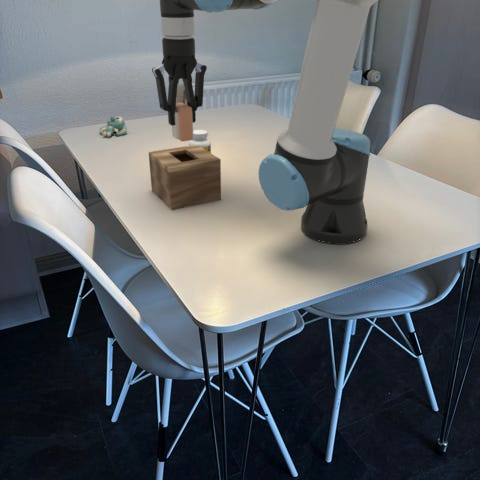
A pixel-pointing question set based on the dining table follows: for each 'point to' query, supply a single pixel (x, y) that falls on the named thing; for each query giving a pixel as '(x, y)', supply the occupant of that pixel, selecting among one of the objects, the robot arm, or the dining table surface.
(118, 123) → the stuffed animal
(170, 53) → the robot arm
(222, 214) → the dining table surface
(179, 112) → the salmon orange block
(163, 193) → the coin box
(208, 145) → the pill bottle
